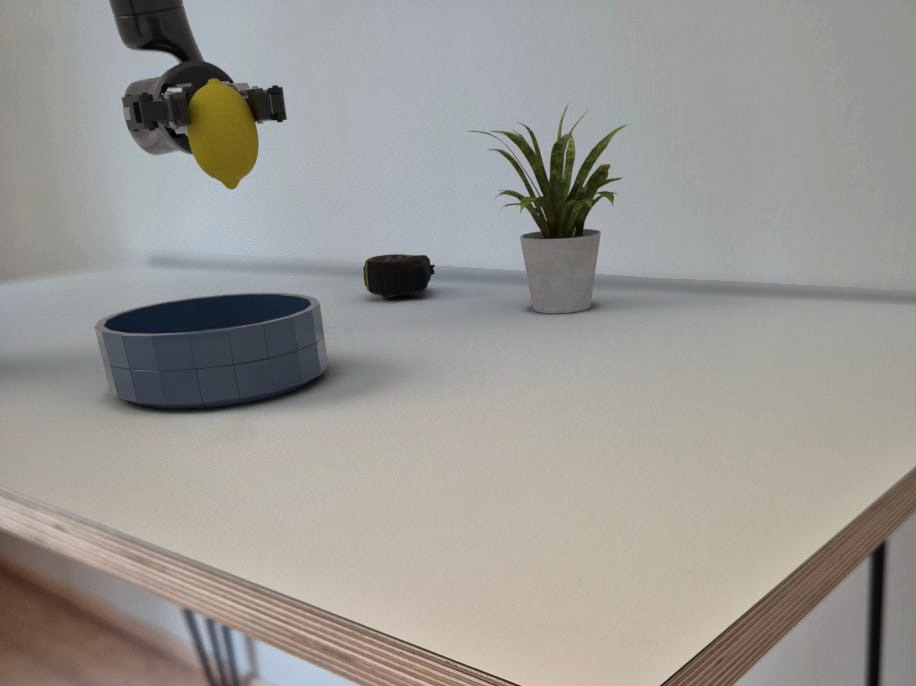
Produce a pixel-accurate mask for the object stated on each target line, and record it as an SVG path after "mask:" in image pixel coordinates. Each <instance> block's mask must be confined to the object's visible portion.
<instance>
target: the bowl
mask: <svg viewBox="0 0 916 686" xmlns="http://www.w3.org/2000/svg"><path fill="white" fill-rule="evenodd" d="M94 330H95V331H94V332H95V335H96V340H97V343H98V347H99V351H100V356H101V360H102V363H103V367H104V371H105V375H106V380H107V383H108V388H109V392H110V393H111V394H112V395H114V396H115V397H116V398H117V399H121V400H124V401H128V402H132V403H135V404H137V405H139V406H144V407H147V408H156V409H165V410H166V409H167V410H168V409H169V410H172V409H174V410H190V409H191V410H192V409H206V408H218V407H219V408H220V407H227V406H234V405H241V404H247V403H253V402H257V401H261V400H265V399H266V400H267V399H270V398H274V397H277V396H280V395H283V394H287V393H290V392H293V391H295V390H297V389H300V388H301V387H303V386H305V385H307V384H308V383H310V381H312V380H313V379H315V378H317V377H319V376H321V375H323V373H324V372H325V371H326V370H327V369H328V367H329V361H328V355H327V347H326V340H325V333H324V324H323V317H322V310H321V304H320V302H319V301H318V299H317V298H316V297H312V296H310V295H306V294H302V293H301V294H300V293H289V292H245V293H228V294H227V293H226V294H215V295H205V296H195V297H188V298H180V299H173V300H168V301H161V302H157V303H152V304H147V305H143V306H142V305H141V306H136V307H132V308H129V309H125V310H123V311H119V312H115V313H112V314H110V315H109V316H106V317H103V318H102V319H100V320H97V322H96V324H95V325H94Z"/></svg>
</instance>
